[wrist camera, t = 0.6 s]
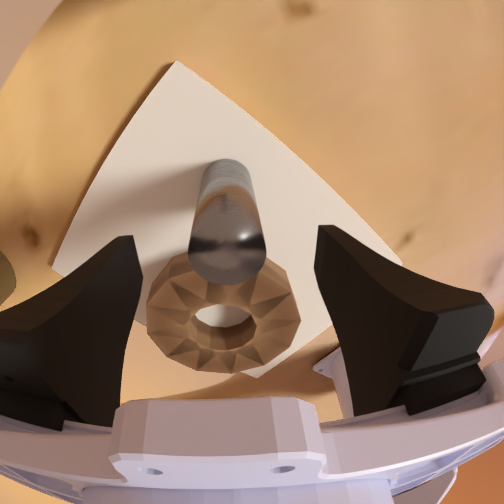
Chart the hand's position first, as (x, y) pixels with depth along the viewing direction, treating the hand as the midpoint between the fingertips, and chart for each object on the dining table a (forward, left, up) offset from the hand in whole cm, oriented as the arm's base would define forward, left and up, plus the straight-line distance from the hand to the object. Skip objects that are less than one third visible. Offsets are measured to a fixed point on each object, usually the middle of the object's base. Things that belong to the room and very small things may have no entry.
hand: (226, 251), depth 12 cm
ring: (-6, +8, -8) cm, 13 cm away
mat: (-4, +5, -9) cm, 11 cm away
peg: (0, 0, -8) cm, 8 cm away
